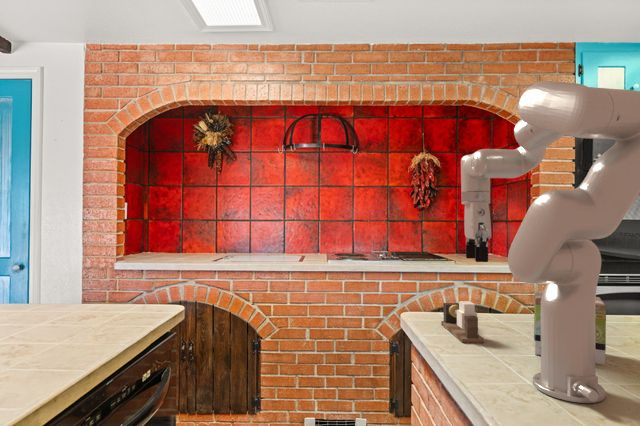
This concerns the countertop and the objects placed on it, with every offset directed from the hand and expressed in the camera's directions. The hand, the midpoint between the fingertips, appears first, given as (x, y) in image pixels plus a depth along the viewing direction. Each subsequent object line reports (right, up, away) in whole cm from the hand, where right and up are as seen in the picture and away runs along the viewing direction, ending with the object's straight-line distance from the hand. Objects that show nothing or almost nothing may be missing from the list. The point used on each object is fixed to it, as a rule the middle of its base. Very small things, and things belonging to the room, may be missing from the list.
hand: (476, 259), depth 111 cm
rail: (-1, -23, +9) cm, 25 cm away
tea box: (+20, -23, -9) cm, 32 cm away
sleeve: (-1, -20, +4) cm, 20 cm away
